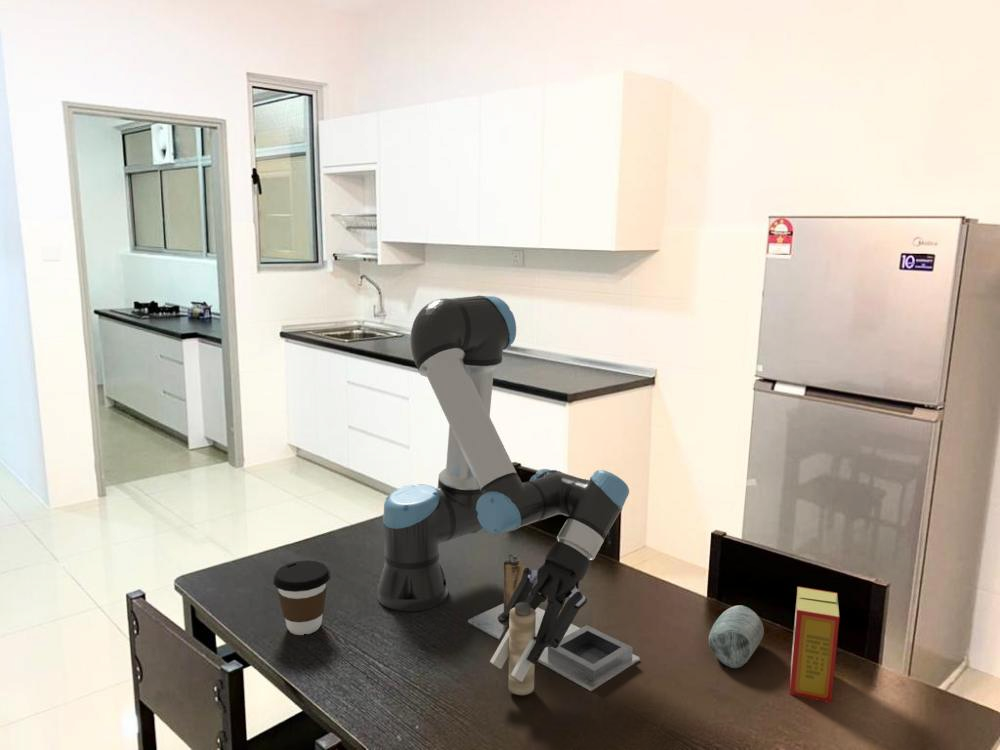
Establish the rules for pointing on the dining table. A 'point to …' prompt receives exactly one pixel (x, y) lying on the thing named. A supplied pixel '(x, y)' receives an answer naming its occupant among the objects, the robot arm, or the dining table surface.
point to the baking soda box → (814, 643)
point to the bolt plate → (564, 640)
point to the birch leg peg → (521, 645)
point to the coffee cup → (302, 594)
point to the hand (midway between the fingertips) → (505, 671)
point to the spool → (736, 636)
